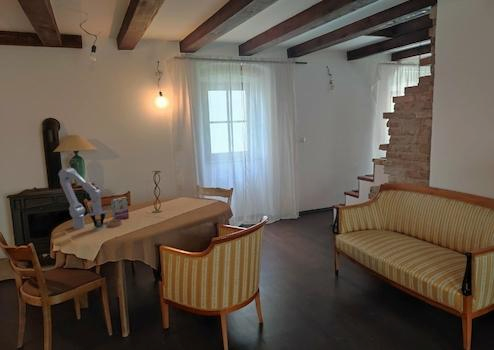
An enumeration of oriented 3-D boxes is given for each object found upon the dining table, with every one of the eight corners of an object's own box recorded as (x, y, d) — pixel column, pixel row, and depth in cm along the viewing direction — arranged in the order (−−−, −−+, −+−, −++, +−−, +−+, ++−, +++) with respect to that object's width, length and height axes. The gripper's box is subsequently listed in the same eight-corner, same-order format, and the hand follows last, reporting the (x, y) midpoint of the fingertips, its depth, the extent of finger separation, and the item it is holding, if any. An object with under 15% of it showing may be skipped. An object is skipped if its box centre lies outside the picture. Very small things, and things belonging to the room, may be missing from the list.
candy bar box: (125, 217, 291) (124, 196, 289) (129, 218, 288) (127, 197, 286) (112, 220, 283) (110, 199, 281) (115, 221, 280) (113, 200, 277)
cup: (106, 225, 268) (106, 221, 267) (119, 223, 273) (119, 218, 273) (109, 228, 260) (109, 224, 260) (123, 226, 265) (123, 221, 265)
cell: (95, 227, 261) (94, 219, 260) (101, 226, 263) (100, 218, 262) (96, 229, 258) (95, 220, 257) (102, 228, 260) (101, 219, 259)
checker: (90, 228, 262) (89, 226, 262) (104, 226, 268) (104, 223, 267) (93, 232, 254) (93, 229, 253) (108, 229, 259) (107, 226, 259)
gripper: (87, 209, 251) (89, 228, 253) (108, 205, 259) (110, 224, 261) (84, 207, 257) (86, 226, 259) (106, 204, 265) (108, 222, 267)
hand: (98, 225), depth 260 cm, fingers closed on cell, 4 cm apart
